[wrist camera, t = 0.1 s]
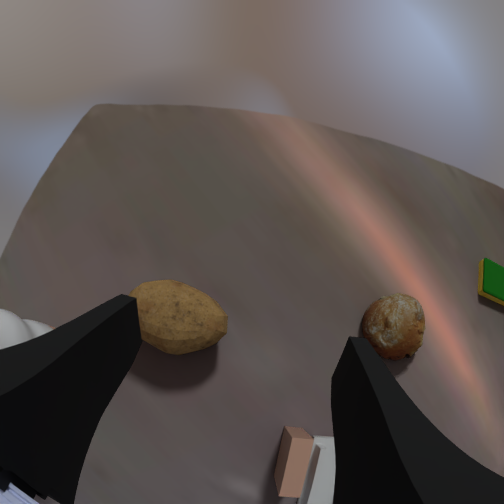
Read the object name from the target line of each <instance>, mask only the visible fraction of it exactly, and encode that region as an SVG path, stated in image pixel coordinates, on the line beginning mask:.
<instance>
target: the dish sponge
mask: <svg viewBox="0 0 504 504" xmlns="http://www.w3.org/2000/svg"><path fill="white" fill-rule="evenodd" d="M478 294H479V295H481V296H484V297H486V298H488V299H490V300H492V301H494V302H496V303H499V304H501V305H503V306H504V267H502V266H500V265H498V264H497V263H495V262H493V261H491V260H489V259H487V258H484V259H483V260H481V261H480V262H479V279H478Z"/></svg>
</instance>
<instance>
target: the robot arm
mask: <svg viewBox="0 0 504 504" xmlns="http://www.w3.org/2000/svg"><path fill="white" fill-rule="evenodd" d="M141 343H142V338H141V331H140V323H139V315H138V307H137V298H135V297H131V296H127V295H123V294H121V295H119V296H116V297H114V298H112V299H111V300H109V301H107V302H105V303H103V304H101V305H99V306H98V307H96V308H94V309H92V310H90V311H89V312H87V313H85V314H83V315H81V316H79V317H77V318H76V319H74V320H72V321H70V322H68V323H66V324H64V325H62V326H60V327H58V328H56V329H54V330H52V331H50V332H48V333H45V334H43V335H41V336H38V337H36V338H33V339H31V340H28V341H26V342H23V343H20V344H17V345H14V346H10V347H7V348H3V349H0V504H40V503H38V502H37V501H35V500H34V497H35V495H36V494H37V495H38V496H40V497H41V498H43V499H44V500H45V499H46V498H47V496H49V497H51V498H52V499H54V500H55V501H57V502H59V503H60V504H74V500H75V495H76V490H77V485H78V481H79V477H80V473H81V470H82V467H83V463H84V460H85V457H86V454H87V451H88V448H89V446H90V443H91V440H92V437H93V435H94V433H95V430H96V428H97V425H98V423H99V421H100V418H101V417H102V415H103V413H104V411H105V409H106V407H107V406H108V404H109V402H110V401H111V399H112V397H113V396H114V394H115V392H116V391H117V389H118V387H119V386H120V384H121V382H122V381H123V379H124V377H125V376H126V374H127V372H128V371H129V369H130V367H131V366H132V364H133V362H134V359H135V357H136V355H137V353H138V350H139V348H140V345H141ZM331 410H332V422H333V433H334V446H335V465H336V469H335V484H334V495H333V504H504V477H502V476H500V475H498V474H496V473H495V472H493V471H491V470H489V469H488V468H486V467H484V466H483V465H481V464H480V463H478V462H477V461H475V460H474V459H473V458H471V457H470V456H468V455H467V454H466V453H464V452H463V451H462V450H461V449H459V448H458V447H457V446H456V445H455V444H453V443H452V442H451V441H450V440H449V439H448V438H447V437H445V436H444V435H443V434H442V433H441V432H440V431H439V430H438V429H437V428H436V427H435V426H434V425H433V424H432V423H431V422H430V421H429V420H428V419H427V418H426V416H425V415H424V414H423V413H422V412H421V411H420V410H419V409H418V407H417V406H416V405H415V404H414V403H413V401H412V400H411V399H410V398H409V396H408V395H407V394H406V393H405V391H404V390H403V389H402V387H401V386H400V385H399V383H398V382H397V381H396V379H395V378H394V377H393V375H392V374H391V372H390V371H389V370H388V368H387V367H386V365H385V364H384V363H383V361H382V360H381V358H380V357H379V355H378V354H377V353H376V351H375V350H374V348H373V347H372V345H371V344H370V343H369V341H368V340H367V339H366V338H359V337H350V336H349V338H348V341H347V343H346V346H345V348H344V351H343V353H342V355H341V358H340V360H339V362H338V365H337V367H336V369H335V371H334V374H333V376H332V383H331Z"/></svg>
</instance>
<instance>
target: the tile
mask: <svg viewBox="0 0 504 504" xmlns="http://www.w3.org/2000/svg"><path fill="white" fill-rule="evenodd" d="M313 442H314V439H313V438H312V437H311V436H310V435H309V434H308V433H307V432H306V431H305V430H304V429H303V428H296V427H287V426H284V431H283V436H282V441H281V445H280V450H279V455H278V459H277V464H276V468H275V472H274V479H275V483H276V487H277V491H278V495H279V496H283V497H299V498H300V496H301V492H302V488H303V485H304V481H305V477H306V473H307V468H308V464H309V460H310V455H311V451H312V446H313Z"/></svg>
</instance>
